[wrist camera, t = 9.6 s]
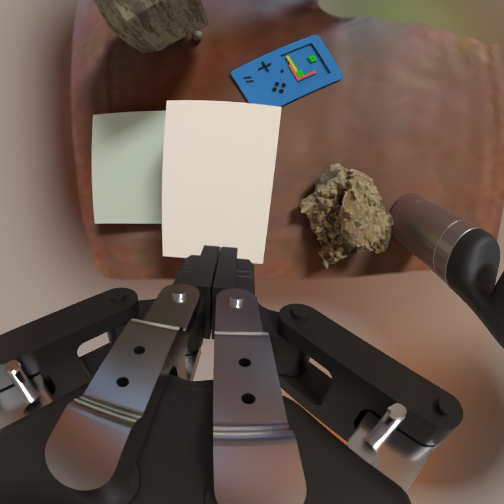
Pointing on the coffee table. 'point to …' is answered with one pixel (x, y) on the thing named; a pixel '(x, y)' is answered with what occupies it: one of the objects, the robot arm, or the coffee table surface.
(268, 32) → the coffee table surface
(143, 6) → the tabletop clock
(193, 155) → the case
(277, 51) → the handheld gaming device
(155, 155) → the door
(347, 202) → the mineral specimen
